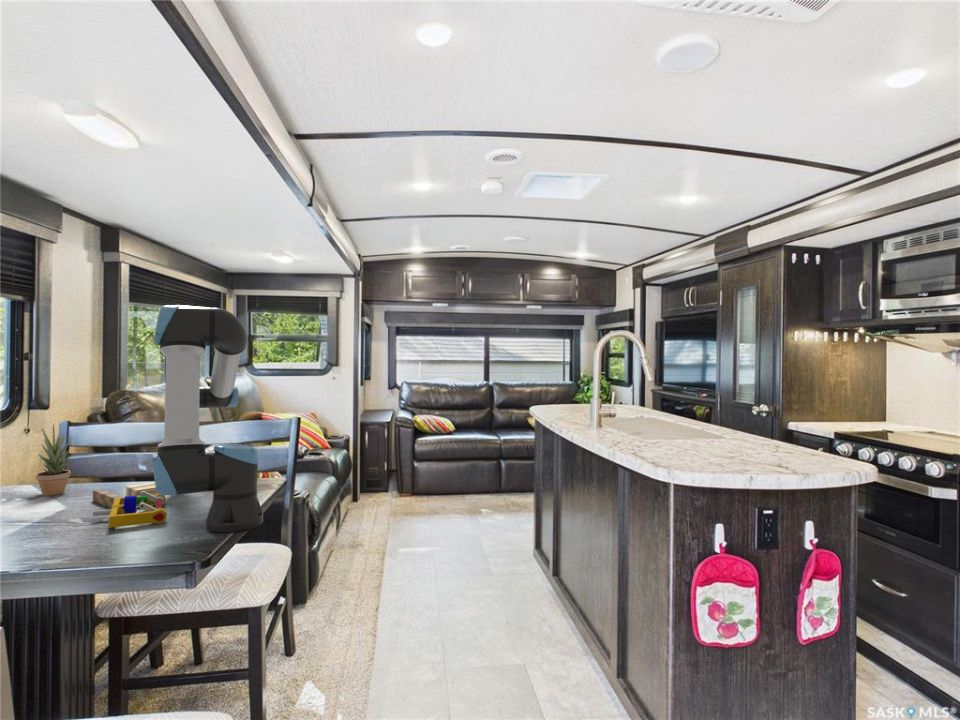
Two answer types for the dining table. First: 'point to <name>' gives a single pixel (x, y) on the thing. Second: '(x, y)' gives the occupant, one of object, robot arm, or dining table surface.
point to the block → (141, 489)
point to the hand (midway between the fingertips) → (176, 488)
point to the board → (105, 497)
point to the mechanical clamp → (135, 510)
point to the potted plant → (53, 467)
